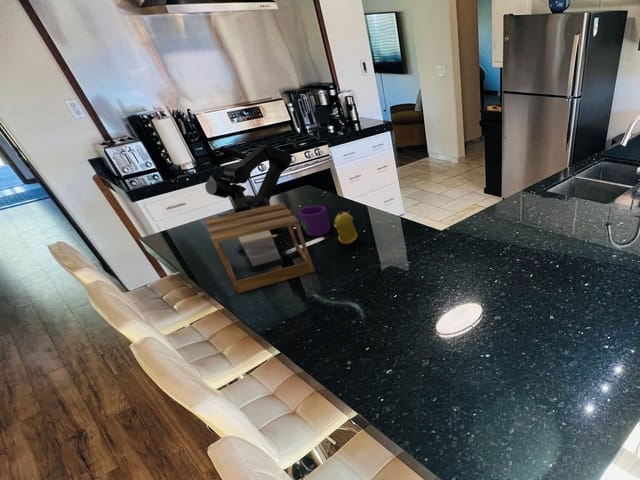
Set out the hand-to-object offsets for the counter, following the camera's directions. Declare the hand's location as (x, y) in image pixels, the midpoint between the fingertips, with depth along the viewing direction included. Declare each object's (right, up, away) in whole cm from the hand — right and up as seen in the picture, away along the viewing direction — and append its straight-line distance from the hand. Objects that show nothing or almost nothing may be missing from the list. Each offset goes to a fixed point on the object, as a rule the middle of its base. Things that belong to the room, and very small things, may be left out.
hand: (254, 236), depth 157 cm
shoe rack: (+11, -15, -8) cm, 20 cm away
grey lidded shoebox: (+5, -9, -1) cm, 11 cm away
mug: (+16, +8, +19) cm, 27 cm away
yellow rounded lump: (+35, 0, +9) cm, 36 cm away
